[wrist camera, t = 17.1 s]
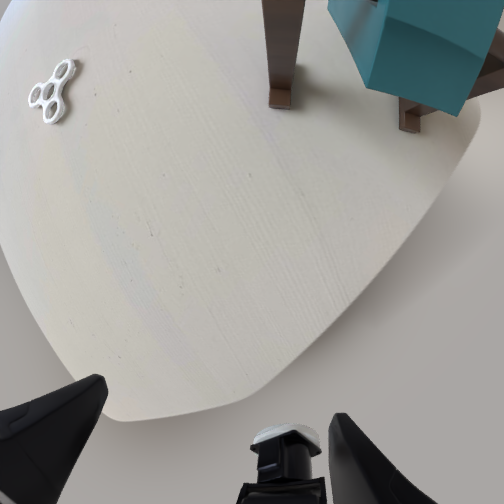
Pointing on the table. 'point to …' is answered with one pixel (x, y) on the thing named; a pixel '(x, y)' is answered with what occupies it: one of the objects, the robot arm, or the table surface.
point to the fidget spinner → (56, 94)
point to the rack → (286, 47)
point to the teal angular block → (419, 45)
